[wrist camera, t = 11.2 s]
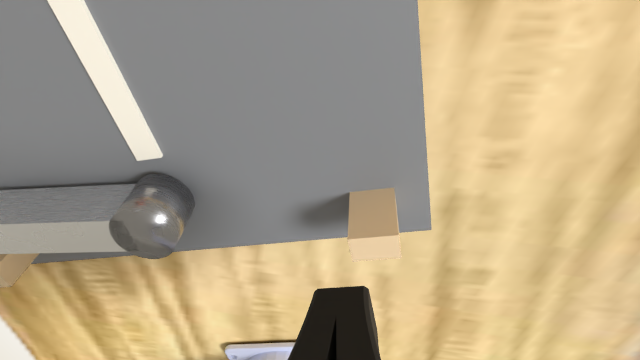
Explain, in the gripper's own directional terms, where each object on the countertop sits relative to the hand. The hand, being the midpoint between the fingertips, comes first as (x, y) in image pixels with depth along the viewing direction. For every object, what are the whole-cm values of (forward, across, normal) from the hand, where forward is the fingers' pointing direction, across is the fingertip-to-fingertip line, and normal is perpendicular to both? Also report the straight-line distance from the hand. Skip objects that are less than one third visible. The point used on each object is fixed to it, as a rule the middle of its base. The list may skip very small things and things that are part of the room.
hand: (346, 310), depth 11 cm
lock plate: (+9, +9, -3) cm, 13 cm away
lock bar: (+7, +14, +1) cm, 15 cm away
